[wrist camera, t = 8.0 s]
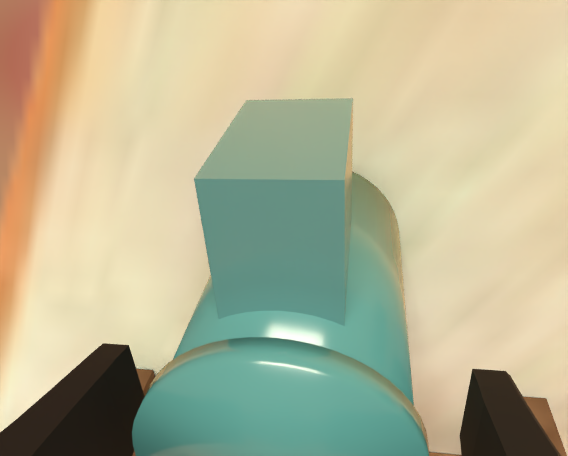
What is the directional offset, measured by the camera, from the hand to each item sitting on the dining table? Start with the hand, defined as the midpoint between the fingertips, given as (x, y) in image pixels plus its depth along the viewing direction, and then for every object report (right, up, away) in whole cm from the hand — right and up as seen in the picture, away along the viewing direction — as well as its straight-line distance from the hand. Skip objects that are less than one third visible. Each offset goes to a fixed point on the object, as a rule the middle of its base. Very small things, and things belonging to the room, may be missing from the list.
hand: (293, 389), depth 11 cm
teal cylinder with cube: (+1, +4, +5) cm, 6 cm away
